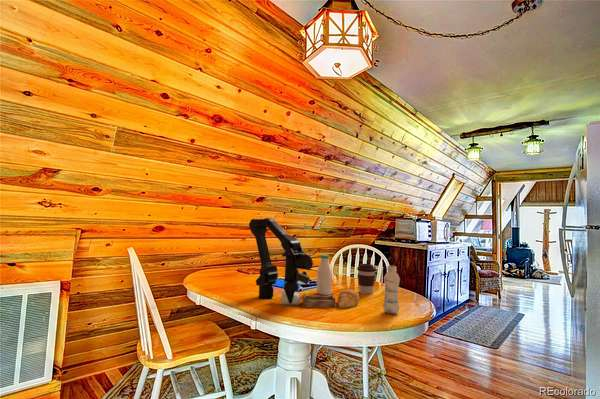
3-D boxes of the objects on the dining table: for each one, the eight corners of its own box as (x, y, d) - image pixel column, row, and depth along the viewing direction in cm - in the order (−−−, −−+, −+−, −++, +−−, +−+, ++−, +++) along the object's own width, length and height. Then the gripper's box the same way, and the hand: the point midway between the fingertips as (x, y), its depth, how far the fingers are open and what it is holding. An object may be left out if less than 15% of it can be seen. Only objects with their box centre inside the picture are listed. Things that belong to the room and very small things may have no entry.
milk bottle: (330, 295, 164) (331, 256, 165) (315, 294, 166) (316, 255, 166) (332, 292, 172) (333, 254, 172) (317, 291, 173) (318, 253, 174)
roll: (281, 306, 144) (281, 295, 144) (281, 302, 149) (281, 291, 149) (299, 306, 145) (300, 295, 145) (299, 302, 150) (299, 292, 150)
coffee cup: (354, 293, 170) (355, 265, 171) (358, 289, 179) (359, 262, 180) (373, 296, 166) (374, 266, 167) (376, 291, 175) (377, 264, 176)
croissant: (346, 318, 140) (354, 303, 138) (327, 304, 144) (335, 289, 143) (360, 305, 159) (368, 292, 157) (344, 293, 163) (351, 280, 161)
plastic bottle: (380, 310, 141) (381, 264, 142) (395, 310, 141) (396, 265, 142) (385, 315, 134) (386, 267, 135) (401, 315, 135) (402, 267, 136)
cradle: (303, 306, 143) (304, 297, 143) (302, 301, 151) (303, 293, 151) (335, 307, 144) (335, 298, 144) (332, 302, 152) (332, 293, 152)
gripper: (310, 271, 139) (309, 307, 138) (307, 264, 157) (306, 296, 157) (284, 270, 138) (283, 307, 138) (284, 263, 157) (283, 296, 156)
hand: (290, 301), depth 147 cm, fingers open, 6 cm apart
